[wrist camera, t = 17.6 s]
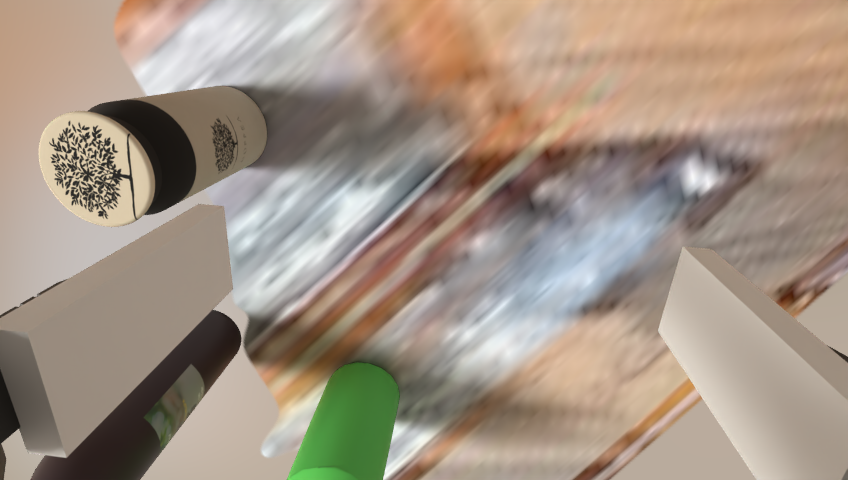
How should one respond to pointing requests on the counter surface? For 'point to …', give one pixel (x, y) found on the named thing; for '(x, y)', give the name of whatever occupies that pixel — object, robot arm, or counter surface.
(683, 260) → the robot arm
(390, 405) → the bottle
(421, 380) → the counter surface
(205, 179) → the travel mug
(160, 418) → the wine bottle
